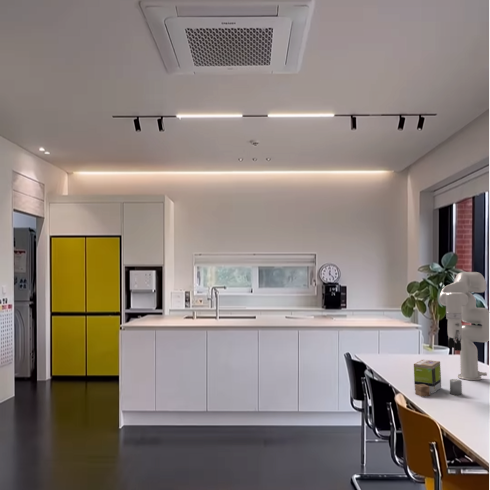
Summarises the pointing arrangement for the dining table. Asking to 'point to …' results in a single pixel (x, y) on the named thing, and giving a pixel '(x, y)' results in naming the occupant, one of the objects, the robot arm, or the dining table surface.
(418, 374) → the tea box
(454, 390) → the grey upright cylinder
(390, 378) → the dining table surface
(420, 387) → the walnut block
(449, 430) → the dining table surface
